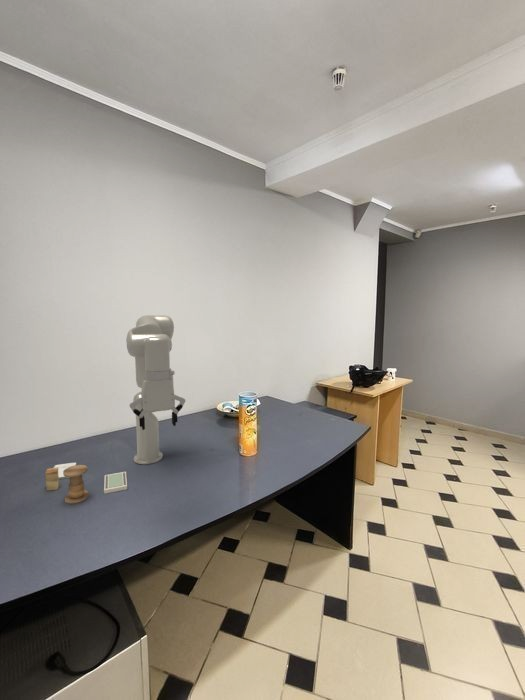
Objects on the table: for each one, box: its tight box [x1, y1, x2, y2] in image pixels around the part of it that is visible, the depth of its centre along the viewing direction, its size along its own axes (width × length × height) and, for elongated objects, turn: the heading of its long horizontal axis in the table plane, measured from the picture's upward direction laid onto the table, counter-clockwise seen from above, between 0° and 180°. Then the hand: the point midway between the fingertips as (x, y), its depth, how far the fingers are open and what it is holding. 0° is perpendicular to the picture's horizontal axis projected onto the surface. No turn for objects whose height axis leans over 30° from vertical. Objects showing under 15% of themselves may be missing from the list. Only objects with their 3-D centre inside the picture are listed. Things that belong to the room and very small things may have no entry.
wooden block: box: [44, 467, 60, 492], centre depth 128 cm, size 4×4×7 cm
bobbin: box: [63, 464, 90, 505], centre depth 121 cm, size 8×8×11 cm
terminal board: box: [103, 471, 128, 495], centre depth 132 cm, size 12×8×2 cm, turn 24°
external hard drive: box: [53, 462, 77, 481], centre depth 140 cm, size 2×8×12 cm
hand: (158, 426), depth 109 cm, fingers open, 9 cm apart
